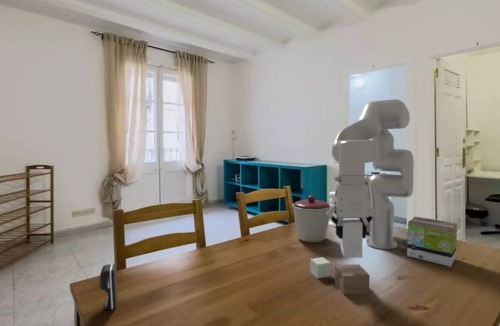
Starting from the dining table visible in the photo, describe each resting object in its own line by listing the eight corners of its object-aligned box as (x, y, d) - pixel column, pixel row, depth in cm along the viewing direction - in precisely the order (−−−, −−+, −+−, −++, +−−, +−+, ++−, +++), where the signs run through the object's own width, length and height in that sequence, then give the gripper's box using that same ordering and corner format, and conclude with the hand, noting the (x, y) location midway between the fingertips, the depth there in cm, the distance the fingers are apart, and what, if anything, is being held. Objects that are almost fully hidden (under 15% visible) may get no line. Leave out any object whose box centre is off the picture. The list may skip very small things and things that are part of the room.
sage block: (310, 272, 104) (310, 259, 104) (322, 270, 106) (322, 257, 106) (317, 278, 100) (317, 264, 99) (330, 276, 101) (330, 262, 101)
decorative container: (347, 229, 155) (348, 195, 153) (326, 226, 160) (326, 193, 159) (352, 223, 164) (352, 192, 163) (331, 221, 170) (331, 190, 169)
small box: (362, 258, 88) (363, 223, 87) (343, 257, 89) (343, 223, 88) (358, 249, 95) (358, 217, 95) (340, 248, 97) (340, 216, 96)
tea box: (406, 257, 117) (407, 220, 116) (413, 250, 124) (414, 215, 123) (451, 267, 106) (453, 227, 105) (456, 259, 114) (457, 221, 113)
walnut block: (334, 282, 97) (334, 265, 96) (358, 281, 97) (358, 264, 97) (343, 295, 89) (343, 276, 88) (369, 294, 89) (369, 275, 89)
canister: (324, 248, 127) (324, 200, 126) (286, 241, 137) (285, 197, 136) (335, 236, 143) (336, 194, 141) (300, 231, 152) (300, 191, 151)
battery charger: (103, 300, 88) (101, 263, 87) (117, 297, 89) (115, 261, 88) (100, 312, 81) (98, 272, 81) (115, 310, 83) (113, 270, 82)
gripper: (327, 182, 87) (327, 242, 88) (385, 181, 87) (384, 240, 88) (320, 179, 94) (320, 234, 95) (373, 178, 95) (372, 233, 96)
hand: (351, 236), depth 92 cm, fingers closed on small box, 6 cm apart
